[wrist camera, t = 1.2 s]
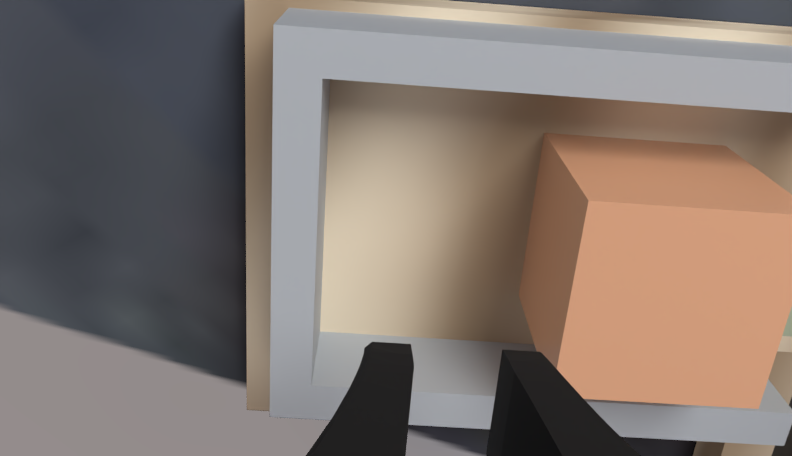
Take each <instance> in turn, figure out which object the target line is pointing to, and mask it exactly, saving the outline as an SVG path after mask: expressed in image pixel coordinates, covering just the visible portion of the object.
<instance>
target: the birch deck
mask: <svg viewBox="0 0 792 456" xmlns="http://www.w3.org/2000/svg"><path fill="white" fill-rule="evenodd" d="M288 8H300V9H313V10H326V11H340V12H353V13H366V14H379V15H392V16H406V17H419V18H432V19H445V20H458V21H472V22H485V23H498V24H511V25H524V26H538V27H551V28H564V29H577V30H590V31H604V32H617V33H630V34H643V35H656V36H669V37H683V38H696V39H709V40H722V41H736V42H749V43H762V44H775V45H788V46H792V27H787V26H774V25H761V24H748V23H734V22H721V21H708V20H695V19H682V18H669V17H656V16H643V15H630V14H617V13H604V12H591V11H578V10H565V9H552V8H539V7H526V6H513V5H500V4H487V3H474V2H461V1H448V0H245V141H246V336H247V410H260V411H270V326H271V222H272V117H273V24H274V23H275V22H276V21H277V20H278V19H279V18H280V17H281V16H282V15H283V14H284V13H285V11H286V10H287V9H288ZM544 133H553V134H568V135H582V136H596V137H610V138H624V139H638V140H652V141H667V142H681V143H695V144H709V145H723V146H727V147H728V148H729V149H731V150H732V151H733V152H735V153H736V154H737V155H739V156H740V157H741V158H743V159H744V160H746V161H747V162H748V163H750V164H751V165H752V166H754V167H755V168H756V169H758V170H759V171H760V172H762V173H763V174H764V175H766V176H767V177H768V178H770V179H771V180H773V181H774V182H775V183H777V184H778V185H779V186H781V187H782V188H783V189H785V190H786V191H787V192H789V193H790V194H791V195H792V113H790V112H776V111H762V110H748V109H734V108H721V107H707V106H693V105H679V104H666V103H652V102H638V101H624V100H610V99H597V98H583V97H569V96H555V95H541V94H528V93H514V92H500V91H486V90H472V89H459V88H445V87H431V86H417V85H403V84H390V83H376V82H362V81H348V80H335V79H330V97H329V122H328V147H327V171H326V196H325V221H324V246H323V271H322V296H321V321H320V332H337V333H353V334H370V335H386V336H403V337H420V338H436V339H453V340H469V341H486V342H502V343H519V344H534V341H533V338H532V335H531V332H530V329H529V326H528V323H527V320H526V317H525V314H524V310H523V307H522V304H521V301H520V298H519V289H520V283H521V277H522V270H523V264H524V258H525V251H526V245H527V239H528V232H529V226H530V220H531V213H532V207H533V201H534V194H535V188H536V182H537V175H538V169H539V163H540V156H541V150H542V144H543V137H544ZM768 379H769V381H770V382H771V383H772V384H773V386H774V387H775V388H776V390H777V391H778V392H779V393H780V395H781V396H782V397H783V398H784V400H785V401H786V402H787V404H788V405H789V406H790V407H791V409H792V307H791V310H790V313H789V317H788V320H787V323H786V326H785V329H784V332H783V335H782V338H781V341H780V344H779V347H778V351H777V354H776V357H775V360H774V363H773V366H772V369H771V372H770V375H769V378H768ZM693 456H792V425H791V428H790V431H789V434H788V436H787V439H786V442H785V445H784V446H777V445H759V444H742V443H724V442H706V441H697V442H696V446H695V449H694V453H693Z"/></svg>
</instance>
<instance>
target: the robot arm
mask: <svg viewBox="0 0 792 456" xmlns="http://www.w3.org/2000/svg"><path fill="white" fill-rule="evenodd" d="M413 373H414V361H413V354H412V348H411V344H403V343H386V342H371V343H370V344H369V345H367V346H366V347H365V348H364V354H363V357H362V360H361V363H360V366H359V369H358V371H357V373H356V375H355V377H354V380H353V382H352V384H351V386H350V388H349V390H348V391H347V393H346V395H345V397H344V398H343V400H342V402H341V404H340V405H339V407H338V409H337V411H336V412H335V414H334V416H333V417H332V419H331V420H330V422H329V424H328V425H327V426H326V428H325V429H324V431H323V432H322V434H321V435H320V436H319V438H318V439H317V441H316V442H315V444H314V445H313V447H312V448H311V449H310V451H309V452H308V453H307V455H306V456H405V452H406V443H407V433H408V423H409V413H410V403H411V393H412V383H413ZM486 454H487V456H641V455H639V454H638V453H637V452H636V451H635V450H634V449H633V448H632V447H631V446H630V445H629V444H628V443H626V442H625V441H624V440H623V439H622V438H621V437H620V436H619V435H618V434H617V433H616V432H615V431H614V430H613V429H612V428H611V427H610V426H609V425H608V424H607V423H606V422H605V421H604V420H603V419H602V418H601V417H600V416H599V415H598V414H597V413H596V411H595V410H594V409H593V408H592V407H591V406H590V405H589V404H588V403H587V402H586V401H585V400H584V399H583V398H582V397H581V395H580V394H579V393H578V392H577V391H576V390H575V389H574V388H573V387H572V386H571V385H570V383H569V382H568V381H567V380H566V379H565V378H564V377H563V376H562V375H561V373H560V372H559V371H558V370H557V369H556V368H555V367H554V366H553V364H552V363H551V362H550V361H549V360H548V359H547V358H546V357H545V356H544V355H543V354H542V353H541V352H536V351H519V350H503V349H502V355H501V361H500V368H499V374H498V381H497V387H496V394H495V400H494V407H493V413H492V420H491V426H490V433H489V439H488V446H487V453H486Z"/></svg>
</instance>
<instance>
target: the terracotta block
mask: <svg viewBox="0 0 792 456" xmlns="http://www.w3.org/2000/svg"><path fill="white" fill-rule="evenodd" d="M519 298H520V301H521V304H522V307H523V310H524V314H525V317H526V320H527V323H528V326H529V329H530V332H531V335H532V338H533V341H534V345H535V348H536V351H537V352H541V353H542V354H543V355H544V356H545V357H546V358H547V359H548V360H549V361H550V362H551V363H552V364H553V366H554V367H555V368H556V369H557V370H558V371H559V372H560V373H561V375H562V376H563V377H564V378H565V379H566V380H567V381H568V382H569V383H570V385H571V386H572V387H573V388H574V389H575V390H576V391H577V392H578V393H579V394H580V395H581V397H582V398H583V399H595V400H612V401H630V402H647V403H664V404H681V405H699V406H716V407H733V408H750V409H759V406H760V403H761V400H762V397H763V394H764V391H765V388H766V384H767V381H768V378H769V375H770V372H771V369H772V366H773V363H774V360H775V357H776V354H777V351H778V347H779V344H780V341H781V338H782V335H783V332H784V329H785V326H786V323H787V320H788V317H789V313H790V310H791V307H792V195H791V194H790V193H789V192H787V191H786V190H785V189H783V188H782V187H781V186H779V185H778V184H777V183H775V182H774V181H773V180H771V179H770V178H768V177H767V176H766V175H764V174H763V173H762V172H760V171H759V170H758V169H756V168H755V167H754V166H752V165H751V164H750V163H748V162H747V161H746V160H744V159H743V158H741V157H740V156H739V155H737V154H736V153H735V152H733V151H732V150H731V149H729V148H728V147H727V146H723V145H709V144H695V143H681V142H667V141H652V140H638V139H624V138H610V137H596V136H582V135H568V134H553V133H544V137H543V144H542V150H541V156H540V163H539V169H538V175H537V182H536V188H535V194H534V201H533V207H532V213H531V220H530V226H529V232H528V239H527V245H526V251H525V258H524V264H523V270H522V277H521V283H520V289H519Z"/></svg>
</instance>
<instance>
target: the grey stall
mask: <svg viewBox="0 0 792 456" xmlns="http://www.w3.org/2000/svg"><path fill="white" fill-rule="evenodd" d="M330 79H335V80H348V81H362V82H376V83H390V84H403V85H417V86H431V87H445V88H459V89H472V90H486V91H500V92H514V93H528V94H541V95H555V96H569V97H583V98H597V99H610V100H624V101H638V102H652V103H666V104H679V105H693V106H707V107H721V108H734V109H748V110H762V111H776V112H790V113H792V46H788V45H775V44H762V43H749V42H736V41H722V40H709V39H696V38H683V37H669V36H656V35H643V34H630V33H617V32H604V31H590V30H577V29H564V28H551V27H538V26H524V25H511V24H498V23H485V22H472V21H458V20H445V19H432V18H419V17H406V16H392V15H379V14H366V13H353V12H340V11H326V10H313V9H300V8H288V9H287V10H286V11H285V13H284V14H283V15H282V16H281V17H280V18H279V19H278V20H277V21H276V22H275V23H274V24H273V117H272V222H271V326H270V417H280V418H298V419H315V420H331V419H332V417H333V416H334V414H335V412H336V411H337V409H338V407H339V405H340V404H341V402H342V400H343V398H344V397H345V395H346V393H347V391H348V390H349V388H350V386H351V384H352V382H353V380H354V377H355V375H356V373H357V371H358V369H359V366H360V363H361V360H362V357H363V354H364V348H365V347H366V346H367V345H369V344H370V343H371V342H386V343H403V344H411V348H412V354H413V361H414V373H413V383H412V393H411V403H410V413H409V423H408V425H422V426H440V427H457V428H475V429H490V426H491V420H492V413H493V407H494V400H495V394H496V387H497V381H498V374H499V368H500V361H501V355H502V349H503V350H519V351H536V348H535V345H534V344H519V343H502V342H486V341H469V340H453V339H436V338H420V337H403V336H386V335H370V334H353V333H337V332H320V321H321V296H322V271H323V246H324V221H325V196H326V171H327V147H328V122H329V97H330ZM536 352H537V351H536ZM584 400H585V401H586V402H587V403H588V404H589V405H590V406H591V407H592V408H593V409H594V410H595V411H596V413H597V414H598V415H599V416H600V417H601V418H602V419H603V420H604V421H605V422H606V423H607V424H608V425H609V426H610V427H611V428H612V429H613V430H614V431H615V432H616V433H617V434H618V435H619V436H620V437H635V438H653V439H670V440H688V441H706V442H724V443H742V444H759V445H777V446H784V445H785V442H786V439H787V436H788V434H789V431H790V428H791V425H792V409H791V407H790V406H789V405H788V404H787V402H786V401H785V400H784V398H783V397H782V396H781V395H780V393H779V392H778V391H777V390H776V388H775V387H774V386H773V384H772V383H771V382H770V381H769V379H768V381H767V384H766V388H765V391H764V394H763V397H762V400H761V403H760V406H759V409H750V408H733V407H716V406H699V405H681V404H664V403H647V402H630V401H612V400H595V399H584Z"/></svg>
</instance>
